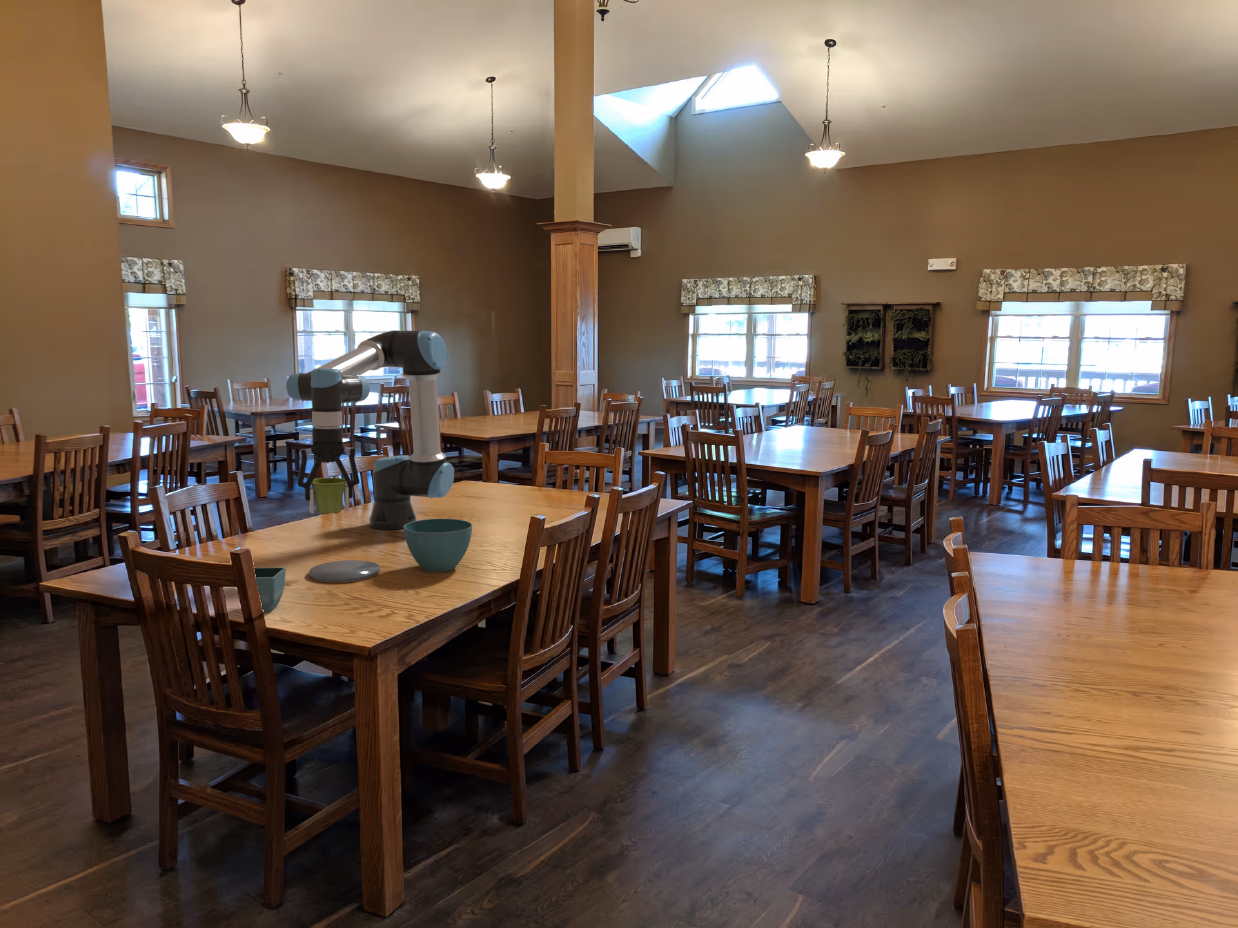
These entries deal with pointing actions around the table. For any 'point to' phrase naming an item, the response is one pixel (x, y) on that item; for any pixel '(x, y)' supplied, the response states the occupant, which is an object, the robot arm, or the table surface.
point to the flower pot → (270, 586)
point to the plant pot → (328, 494)
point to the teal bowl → (438, 542)
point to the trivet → (344, 571)
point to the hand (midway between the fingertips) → (329, 511)
